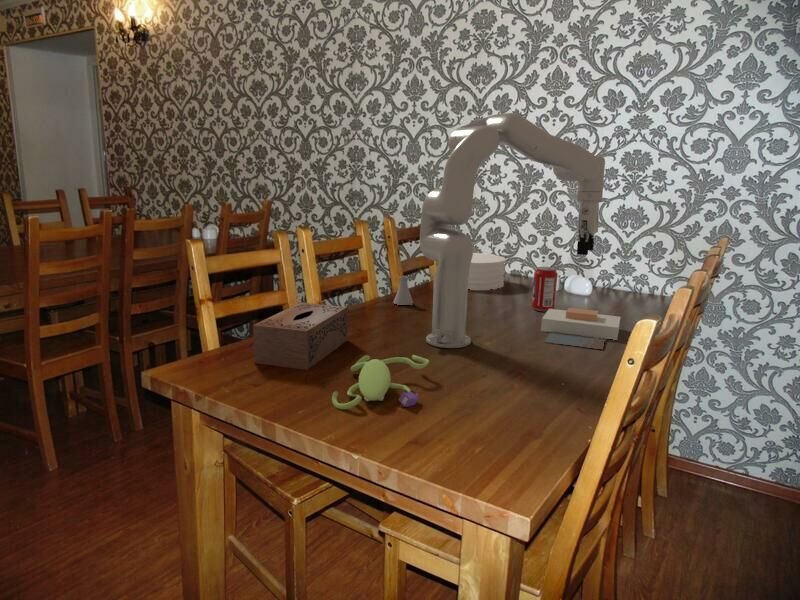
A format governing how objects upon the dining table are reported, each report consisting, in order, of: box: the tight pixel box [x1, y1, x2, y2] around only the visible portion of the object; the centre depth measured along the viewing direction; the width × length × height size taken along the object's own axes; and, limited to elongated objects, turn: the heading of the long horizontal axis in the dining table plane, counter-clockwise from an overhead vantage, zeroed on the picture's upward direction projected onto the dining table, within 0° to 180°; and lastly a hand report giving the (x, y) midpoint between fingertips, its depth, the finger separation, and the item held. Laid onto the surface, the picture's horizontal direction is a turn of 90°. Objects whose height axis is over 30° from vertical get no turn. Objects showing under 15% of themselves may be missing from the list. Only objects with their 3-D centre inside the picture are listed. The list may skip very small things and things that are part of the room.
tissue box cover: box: [252, 302, 349, 371], centre depth 150 cm, size 26×14×10 cm, turn 163°
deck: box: [540, 308, 622, 341], centre depth 177 cm, size 14×22×4 cm, turn 67°
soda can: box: [531, 266, 558, 313], centre depth 200 cm, size 8×8×15 cm
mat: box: [544, 332, 607, 348], centre depth 166 cm, size 12×16×1 cm
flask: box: [392, 275, 414, 306], centre depth 204 cm, size 7×7×10 cm
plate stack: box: [468, 252, 506, 291], centre depth 244 cm, size 28×28×12 cm
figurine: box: [331, 354, 430, 410], centre depth 127 cm, size 18×27×6 cm
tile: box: [566, 307, 599, 322], centre depth 176 cm, size 6×9×2 cm, turn 67°
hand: (585, 252), depth 180 cm, fingers open, 9 cm apart
